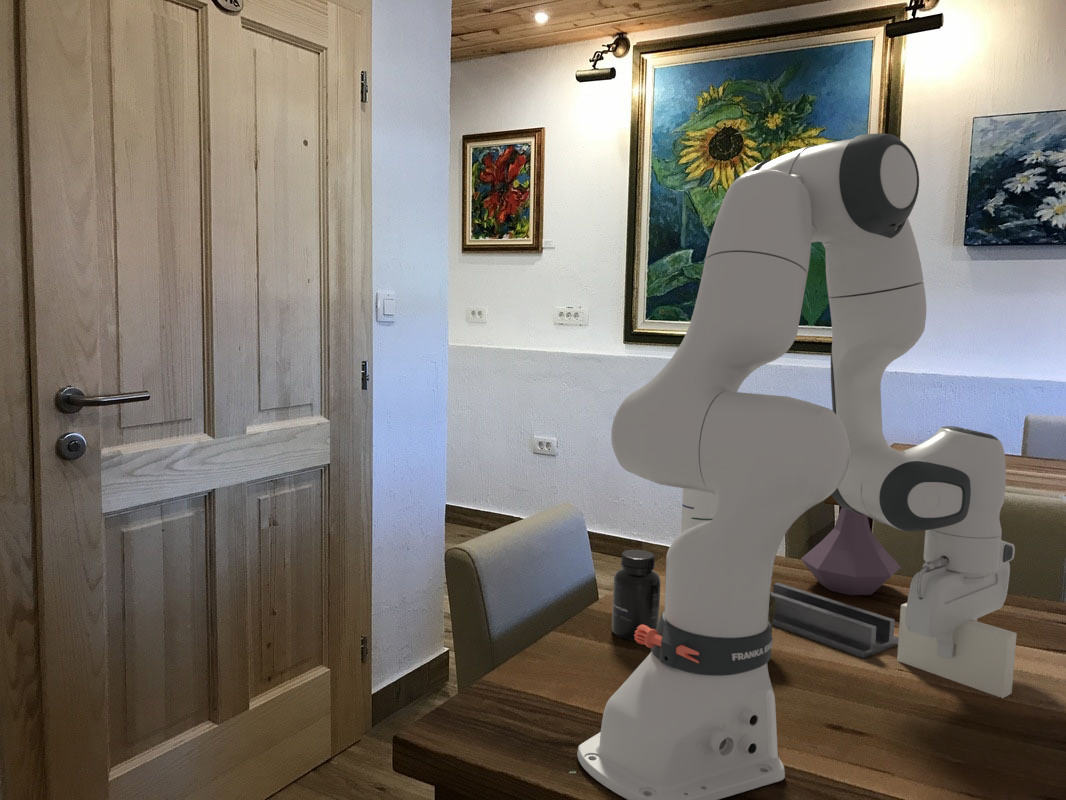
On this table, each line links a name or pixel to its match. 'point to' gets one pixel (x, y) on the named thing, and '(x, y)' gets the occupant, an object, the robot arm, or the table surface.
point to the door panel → (964, 655)
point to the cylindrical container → (697, 508)
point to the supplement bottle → (635, 594)
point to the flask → (851, 557)
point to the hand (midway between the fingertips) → (953, 653)
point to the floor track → (832, 622)
